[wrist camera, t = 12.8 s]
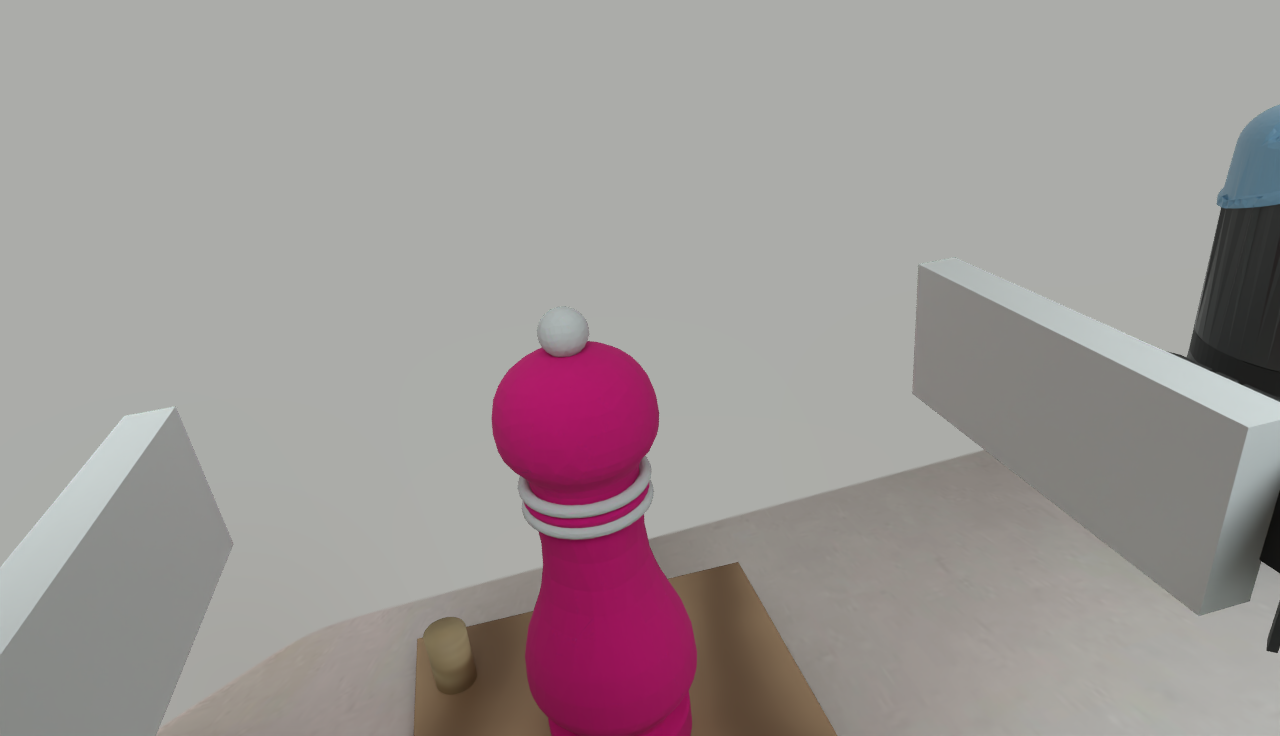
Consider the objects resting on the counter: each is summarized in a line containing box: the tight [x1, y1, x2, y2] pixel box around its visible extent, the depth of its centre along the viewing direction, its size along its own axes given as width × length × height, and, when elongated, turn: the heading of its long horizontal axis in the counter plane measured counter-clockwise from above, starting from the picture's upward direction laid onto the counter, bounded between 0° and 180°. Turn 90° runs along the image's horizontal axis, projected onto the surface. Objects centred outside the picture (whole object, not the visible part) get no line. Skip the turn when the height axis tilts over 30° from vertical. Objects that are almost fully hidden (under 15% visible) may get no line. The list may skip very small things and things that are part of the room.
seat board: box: [414, 562, 837, 736], centre depth 34 cm, size 18×18×4 cm
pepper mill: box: [492, 307, 697, 736], centre depth 30 cm, size 7×7×20 cm
